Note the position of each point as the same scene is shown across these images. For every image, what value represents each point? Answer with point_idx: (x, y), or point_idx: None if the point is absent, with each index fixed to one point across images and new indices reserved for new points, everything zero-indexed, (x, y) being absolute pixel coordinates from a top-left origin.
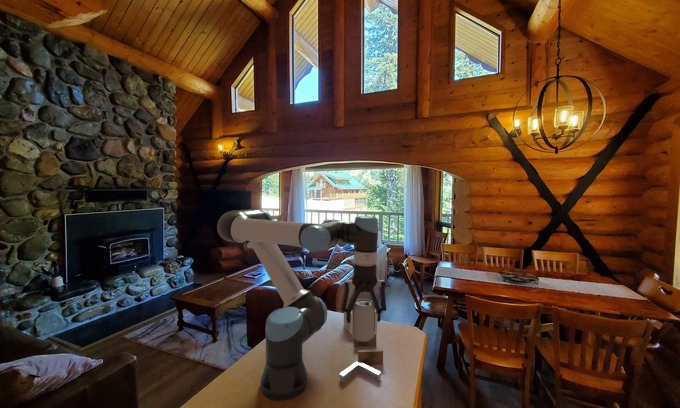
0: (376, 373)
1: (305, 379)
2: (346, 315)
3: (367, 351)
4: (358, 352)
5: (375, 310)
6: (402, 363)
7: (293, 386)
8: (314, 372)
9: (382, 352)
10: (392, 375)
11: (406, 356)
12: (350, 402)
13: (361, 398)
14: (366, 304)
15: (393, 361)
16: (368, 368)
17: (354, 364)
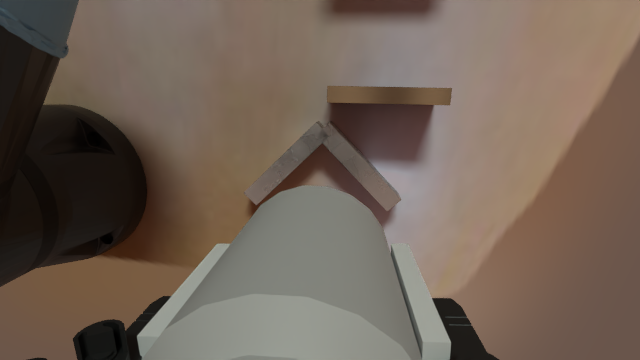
0: (382, 205)
1: (125, 215)
2: (129, 332)
3: (371, 101)
4: (327, 98)
5: (444, 354)
6: (522, 103)
7: (90, 255)
8: (163, 130)
9: (445, 104)
10: (449, 174)
11: (565, 51)
12: None
13: None
14: (350, 292)
15: (488, 85)
16: (358, 172)
17: (306, 140)
